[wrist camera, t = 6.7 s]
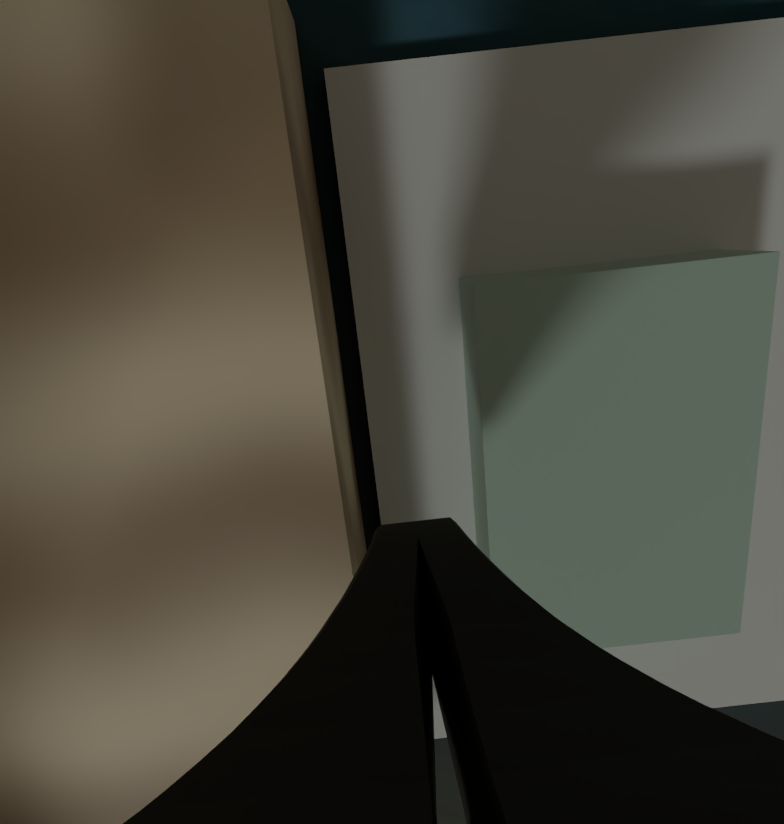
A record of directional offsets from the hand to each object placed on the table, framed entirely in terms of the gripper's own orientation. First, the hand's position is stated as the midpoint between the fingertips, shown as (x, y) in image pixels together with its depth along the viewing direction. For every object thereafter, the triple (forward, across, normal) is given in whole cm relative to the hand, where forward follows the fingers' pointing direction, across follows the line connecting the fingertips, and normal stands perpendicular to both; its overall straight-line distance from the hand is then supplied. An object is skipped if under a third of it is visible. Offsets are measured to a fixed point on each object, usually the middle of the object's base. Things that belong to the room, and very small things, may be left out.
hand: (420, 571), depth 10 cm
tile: (+3, -5, 0) cm, 5 cm away
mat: (+5, -6, 0) cm, 8 cm away
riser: (+5, +7, 0) cm, 9 cm away
